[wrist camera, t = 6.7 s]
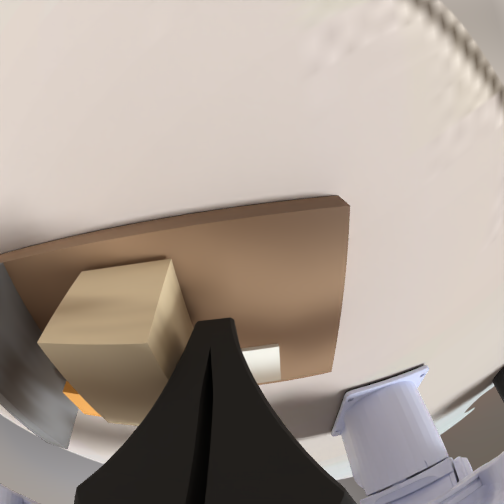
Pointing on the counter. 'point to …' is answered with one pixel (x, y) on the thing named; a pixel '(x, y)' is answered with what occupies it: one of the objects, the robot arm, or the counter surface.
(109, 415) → the tan rectangular block
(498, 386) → the travel mug
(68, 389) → the block
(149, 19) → the counter surface
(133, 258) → the base
